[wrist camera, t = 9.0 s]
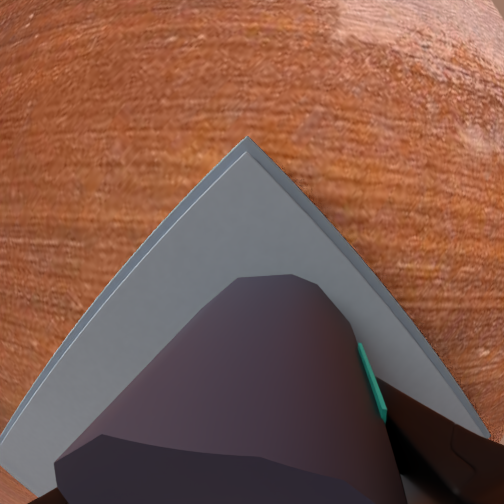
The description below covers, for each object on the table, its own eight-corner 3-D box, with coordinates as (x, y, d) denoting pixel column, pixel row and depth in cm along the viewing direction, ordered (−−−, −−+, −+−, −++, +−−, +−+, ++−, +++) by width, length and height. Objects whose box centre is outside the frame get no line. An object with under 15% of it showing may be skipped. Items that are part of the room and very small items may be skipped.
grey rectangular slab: (250, 143, 13) (246, 133, 10) (474, 413, 16) (494, 439, 13) (3, 437, 18) (-12, 455, 16) (181, 553, 22) (177, 573, 19)
